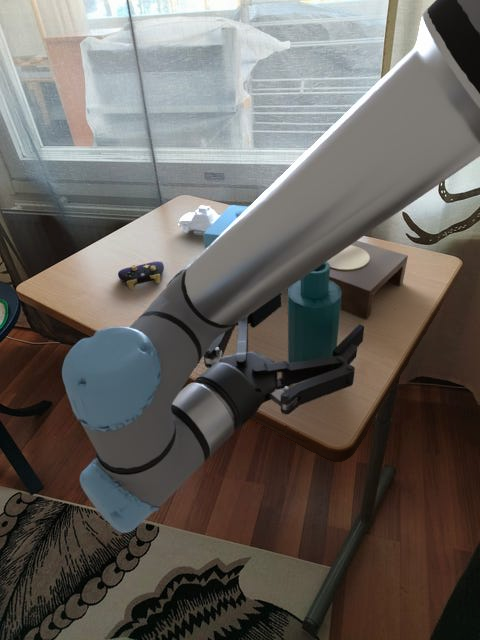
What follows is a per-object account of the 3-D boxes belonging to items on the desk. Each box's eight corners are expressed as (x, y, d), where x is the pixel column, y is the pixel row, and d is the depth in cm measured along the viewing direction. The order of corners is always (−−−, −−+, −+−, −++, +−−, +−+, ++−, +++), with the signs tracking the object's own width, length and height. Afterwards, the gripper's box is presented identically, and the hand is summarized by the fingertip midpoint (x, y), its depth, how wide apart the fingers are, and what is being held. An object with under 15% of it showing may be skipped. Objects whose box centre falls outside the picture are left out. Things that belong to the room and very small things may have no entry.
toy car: (189, 223, 108) (185, 198, 104) (232, 228, 104) (229, 202, 100) (178, 234, 104) (173, 208, 100) (222, 240, 100) (219, 213, 96)
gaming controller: (162, 262, 92) (162, 254, 86) (168, 285, 91) (168, 279, 85) (117, 272, 90) (114, 264, 84) (123, 296, 89) (121, 290, 83)
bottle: (343, 363, 65) (354, 262, 54) (317, 390, 61) (323, 287, 50) (305, 345, 69) (308, 247, 58) (279, 369, 65) (276, 269, 54)
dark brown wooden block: (402, 283, 80) (408, 254, 77) (366, 319, 73) (370, 290, 69) (322, 256, 90) (323, 229, 87) (282, 285, 83) (282, 258, 79)
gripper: (151, 380, 57) (252, 305, 69) (303, 488, 43) (397, 371, 55) (138, 339, 53) (249, 265, 64) (305, 445, 39) (407, 326, 51)
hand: (317, 314), depth 60 cm, fingers open, 13 cm apart
